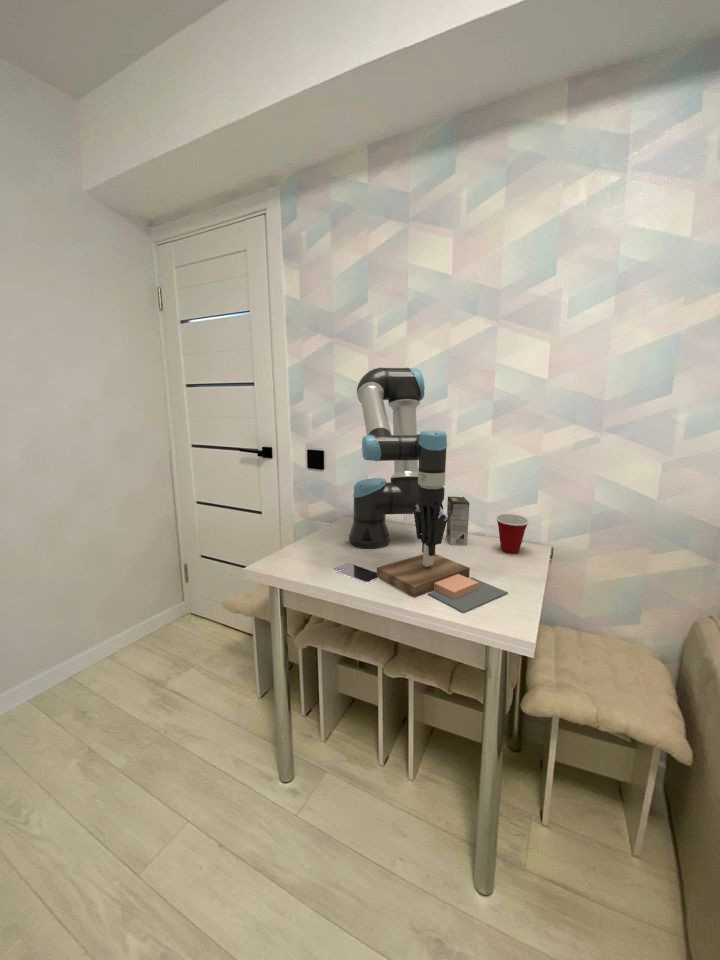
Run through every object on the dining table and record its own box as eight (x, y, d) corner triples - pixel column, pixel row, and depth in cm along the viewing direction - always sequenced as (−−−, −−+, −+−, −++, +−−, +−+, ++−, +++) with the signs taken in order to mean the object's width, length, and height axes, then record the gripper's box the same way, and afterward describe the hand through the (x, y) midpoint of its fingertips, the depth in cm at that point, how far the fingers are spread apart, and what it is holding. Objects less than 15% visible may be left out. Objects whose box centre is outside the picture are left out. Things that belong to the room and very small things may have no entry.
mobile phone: (367, 582, 114) (330, 568, 124) (367, 585, 114) (330, 571, 124) (384, 574, 120) (347, 561, 130) (384, 577, 120) (347, 564, 130)
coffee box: (445, 537, 156) (447, 496, 153) (462, 537, 155) (464, 496, 153) (449, 545, 147) (451, 501, 144) (467, 545, 146) (470, 502, 144)
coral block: (433, 589, 110) (433, 582, 110) (457, 580, 116) (458, 573, 116) (453, 599, 105) (454, 592, 104) (478, 589, 111) (478, 582, 110)
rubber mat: (427, 594, 108) (427, 593, 108) (471, 578, 118) (471, 577, 118) (463, 613, 98) (463, 611, 98) (507, 593, 109) (508, 592, 109)
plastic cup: (497, 556, 136) (500, 522, 134) (490, 545, 146) (492, 513, 144) (531, 557, 135) (534, 522, 133) (521, 546, 146) (523, 514, 143)
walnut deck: (376, 577, 119) (376, 567, 119) (429, 560, 132) (430, 551, 131) (414, 597, 107) (414, 586, 106) (469, 577, 119) (469, 567, 119)
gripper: (405, 483, 117) (403, 560, 122) (439, 492, 107) (435, 575, 112) (423, 480, 122) (421, 555, 126) (458, 488, 111) (453, 569, 116)
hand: (428, 564), depth 119 cm, fingers closed
